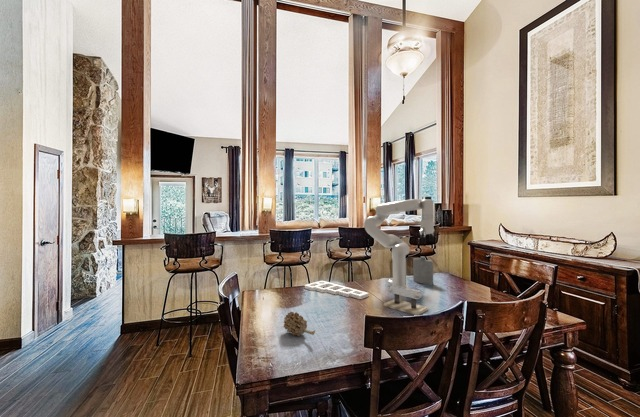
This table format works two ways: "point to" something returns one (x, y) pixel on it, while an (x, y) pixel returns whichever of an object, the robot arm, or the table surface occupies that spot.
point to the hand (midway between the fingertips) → (427, 242)
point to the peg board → (405, 305)
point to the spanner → (406, 291)
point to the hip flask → (423, 271)
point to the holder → (341, 290)
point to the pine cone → (296, 324)
